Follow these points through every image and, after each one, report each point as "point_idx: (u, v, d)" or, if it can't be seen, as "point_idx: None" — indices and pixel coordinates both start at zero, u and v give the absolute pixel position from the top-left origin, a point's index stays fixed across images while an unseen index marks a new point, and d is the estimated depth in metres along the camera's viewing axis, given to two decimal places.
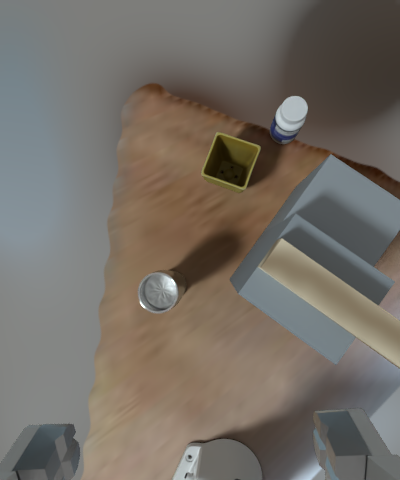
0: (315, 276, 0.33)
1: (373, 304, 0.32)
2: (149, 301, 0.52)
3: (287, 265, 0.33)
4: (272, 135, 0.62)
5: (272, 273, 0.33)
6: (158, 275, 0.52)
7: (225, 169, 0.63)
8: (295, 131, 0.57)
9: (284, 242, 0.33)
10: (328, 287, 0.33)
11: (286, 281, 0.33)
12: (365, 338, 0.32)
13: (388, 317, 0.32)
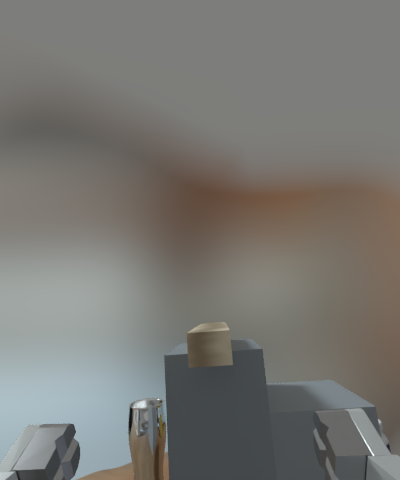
0: None
1: None
2: None
3: (212, 323, 0.49)
4: None
5: None
6: None
7: None
8: None
9: (223, 322, 0.50)
10: (216, 324, 0.44)
11: (202, 324, 0.48)
12: (197, 327, 0.38)
13: None
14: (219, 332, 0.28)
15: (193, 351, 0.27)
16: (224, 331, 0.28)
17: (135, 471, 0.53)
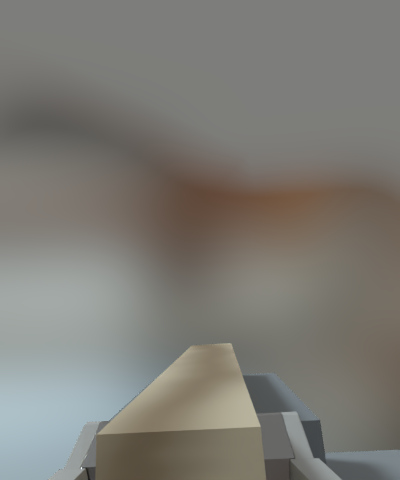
0: (217, 349, 0.25)
1: (233, 359, 0.19)
2: None
3: (208, 346, 0.28)
4: None
5: (192, 346, 0.29)
6: None
7: None
8: None
9: (228, 344, 0.30)
10: (215, 351, 0.23)
11: (191, 348, 0.27)
12: (174, 366, 0.18)
13: (231, 364, 0.17)
14: (220, 435, 0.07)
15: None
16: (239, 431, 0.07)
17: None
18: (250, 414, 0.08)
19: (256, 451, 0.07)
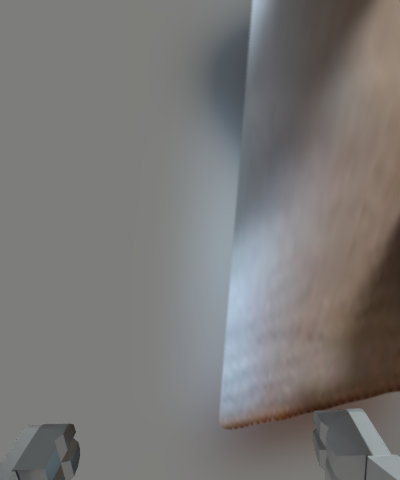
0: None
1: None
2: None
3: None
4: None
5: None
6: None
7: None
8: None
9: None
10: None
11: None
12: None
13: None
14: None
15: None
16: None
17: None
18: None
19: None
